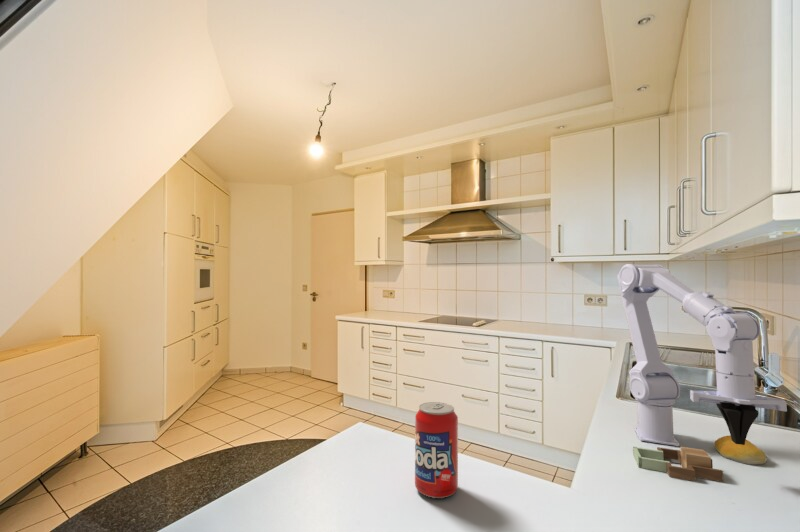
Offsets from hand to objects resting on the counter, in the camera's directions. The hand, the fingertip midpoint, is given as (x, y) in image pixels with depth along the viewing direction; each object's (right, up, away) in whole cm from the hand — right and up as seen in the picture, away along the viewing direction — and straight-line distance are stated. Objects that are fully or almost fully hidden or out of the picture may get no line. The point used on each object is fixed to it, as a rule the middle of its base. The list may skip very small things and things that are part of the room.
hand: (738, 442), depth 74 cm
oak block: (-6, -7, +2) cm, 10 cm away
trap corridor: (-10, -7, +4) cm, 13 cm away
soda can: (-61, -6, -6) cm, 61 cm away
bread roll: (+9, -8, +10) cm, 16 cm away
